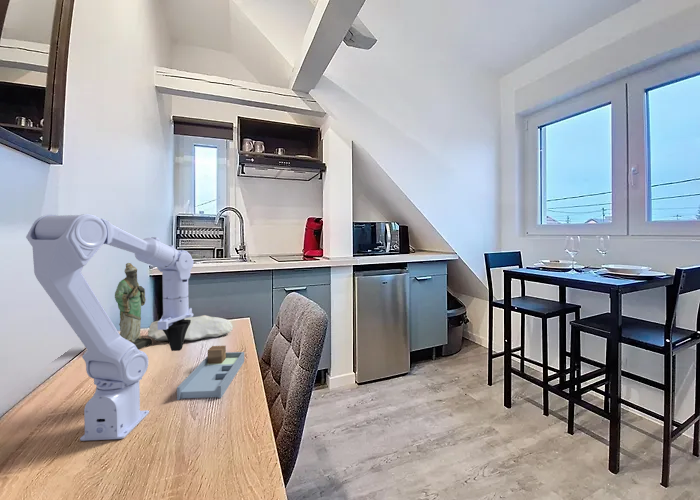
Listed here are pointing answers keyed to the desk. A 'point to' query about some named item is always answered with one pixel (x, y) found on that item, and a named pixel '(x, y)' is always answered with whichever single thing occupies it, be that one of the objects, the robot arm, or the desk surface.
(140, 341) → the figurine
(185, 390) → the box
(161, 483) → the desk surface
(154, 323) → the stone
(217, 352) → the block
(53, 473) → the desk surface
